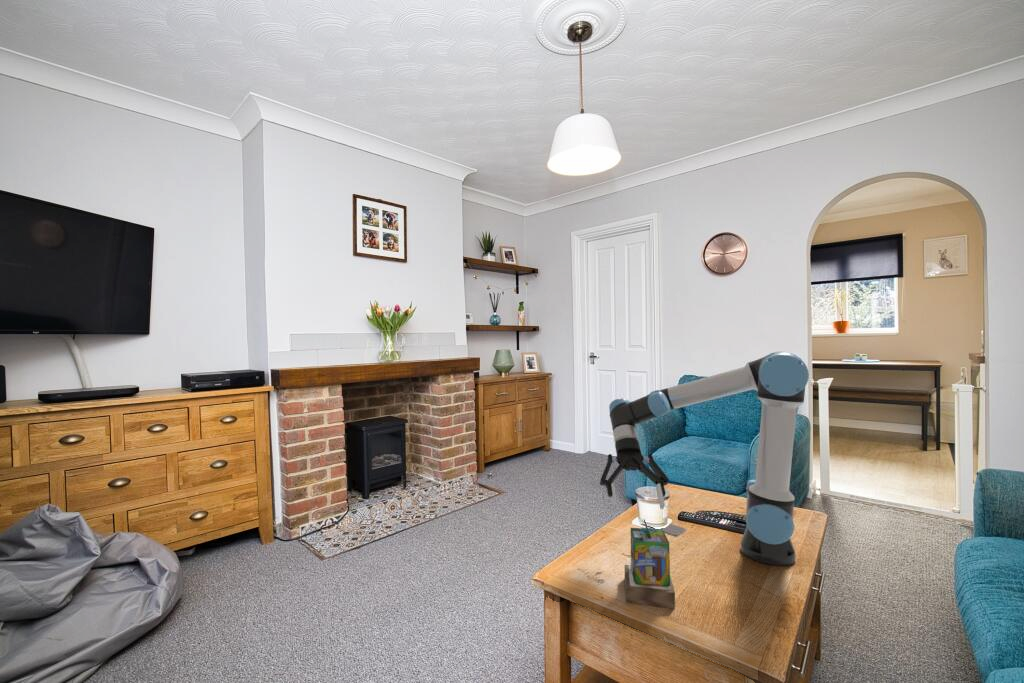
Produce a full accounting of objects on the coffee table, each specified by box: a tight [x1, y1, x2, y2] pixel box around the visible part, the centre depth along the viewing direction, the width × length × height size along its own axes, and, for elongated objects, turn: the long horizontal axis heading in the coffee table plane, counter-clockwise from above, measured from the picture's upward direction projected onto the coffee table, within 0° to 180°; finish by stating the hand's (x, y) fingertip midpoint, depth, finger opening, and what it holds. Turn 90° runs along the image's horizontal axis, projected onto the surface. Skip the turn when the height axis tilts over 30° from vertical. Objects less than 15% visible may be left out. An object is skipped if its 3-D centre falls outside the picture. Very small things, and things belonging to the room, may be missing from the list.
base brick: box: [624, 564, 676, 609], centre depth 121 cm, size 12×12×4 cm
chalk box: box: [630, 519, 671, 586], centre depth 121 cm, size 9×9×15 cm
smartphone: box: [661, 523, 687, 537], centre depth 164 cm, size 7×1×15 cm
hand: (639, 507), depth 129 cm, fingers open, 13 cm apart
